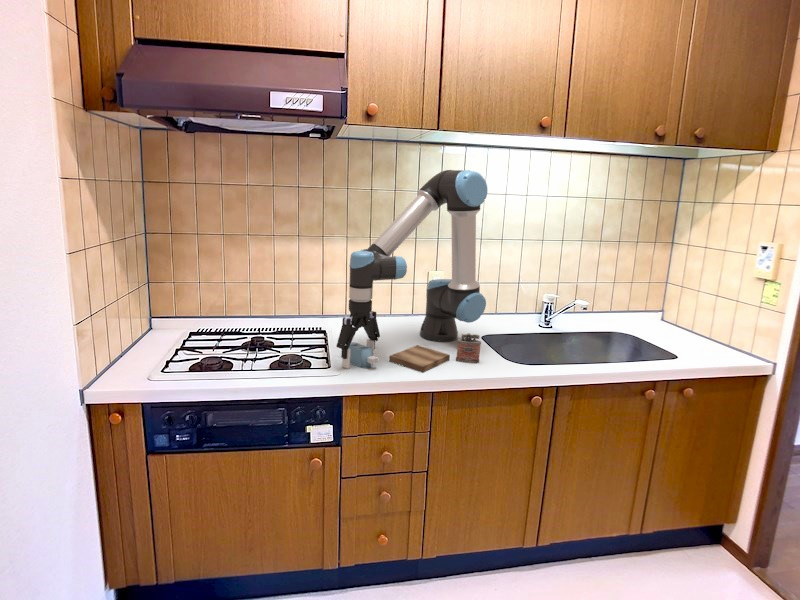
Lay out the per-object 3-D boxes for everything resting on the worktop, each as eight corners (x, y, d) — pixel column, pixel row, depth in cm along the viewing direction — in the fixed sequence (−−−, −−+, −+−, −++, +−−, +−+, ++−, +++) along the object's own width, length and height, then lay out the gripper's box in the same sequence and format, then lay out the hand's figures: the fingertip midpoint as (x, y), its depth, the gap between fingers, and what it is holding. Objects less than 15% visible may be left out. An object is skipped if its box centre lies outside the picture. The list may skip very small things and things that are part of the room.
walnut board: (417, 350, 182) (417, 345, 182) (449, 360, 174) (449, 354, 174) (389, 361, 170) (389, 355, 170) (422, 372, 162) (422, 366, 161)
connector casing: (351, 358, 171) (352, 341, 170) (379, 367, 164) (379, 350, 162) (343, 361, 168) (343, 344, 167) (370, 371, 161) (371, 353, 159)
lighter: (455, 361, 173) (458, 334, 171) (456, 358, 176) (458, 331, 174) (479, 363, 172) (481, 336, 170) (479, 360, 175) (481, 333, 173)
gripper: (375, 291, 173) (373, 351, 178) (325, 302, 155) (324, 368, 160) (392, 295, 168) (389, 357, 173) (343, 307, 150) (341, 375, 155)
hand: (358, 362), depth 167 cm, fingers open, 11 cm apart
